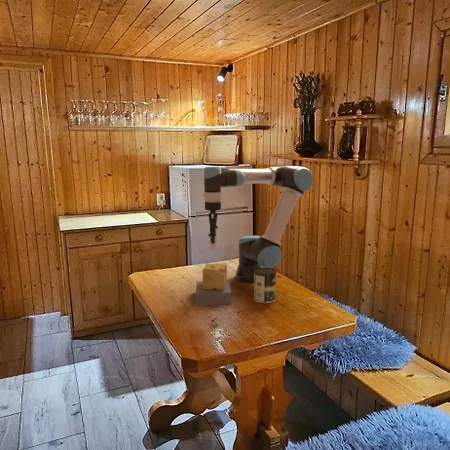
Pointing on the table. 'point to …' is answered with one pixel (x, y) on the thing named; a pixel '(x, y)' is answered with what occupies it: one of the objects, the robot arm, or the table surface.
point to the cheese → (214, 276)
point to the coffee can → (264, 285)
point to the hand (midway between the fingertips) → (213, 246)
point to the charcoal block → (212, 295)
